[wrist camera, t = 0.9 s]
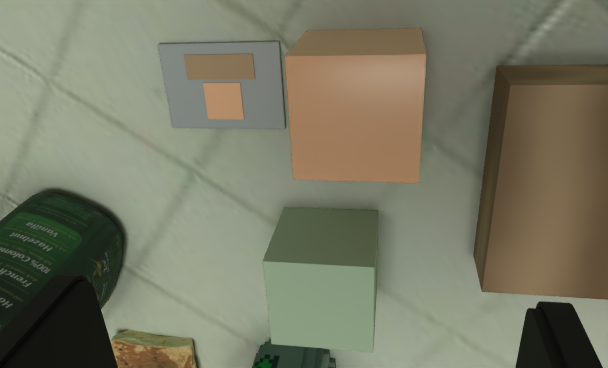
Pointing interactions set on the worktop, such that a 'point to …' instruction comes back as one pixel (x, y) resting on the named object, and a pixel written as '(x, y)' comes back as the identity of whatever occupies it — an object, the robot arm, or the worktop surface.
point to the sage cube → (323, 278)
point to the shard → (152, 351)
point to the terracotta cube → (357, 104)
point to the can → (292, 357)
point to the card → (224, 84)
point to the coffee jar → (55, 249)
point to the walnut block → (546, 183)
